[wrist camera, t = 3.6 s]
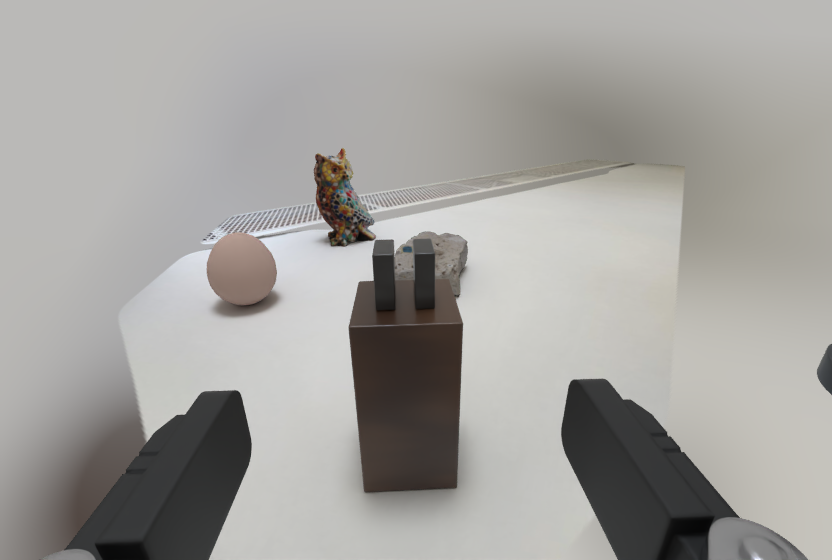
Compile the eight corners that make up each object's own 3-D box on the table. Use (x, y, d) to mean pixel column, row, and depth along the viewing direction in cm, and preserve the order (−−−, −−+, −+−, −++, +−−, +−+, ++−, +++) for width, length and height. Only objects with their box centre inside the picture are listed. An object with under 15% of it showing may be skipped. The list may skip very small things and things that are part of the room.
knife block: (446, 420, 28) (450, 229, 22) (456, 488, 23) (465, 263, 17) (370, 424, 28) (354, 232, 22) (364, 492, 23) (342, 267, 17)
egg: (245, 286, 50) (232, 222, 47) (293, 293, 48) (283, 227, 44) (200, 311, 44) (181, 240, 40) (253, 321, 42) (238, 246, 38)
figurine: (366, 248, 63) (359, 151, 57) (313, 246, 64) (301, 151, 58) (379, 233, 71) (374, 146, 65) (331, 232, 72) (322, 146, 66)
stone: (453, 282, 42) (372, 261, 45) (450, 322, 46) (375, 300, 49) (486, 229, 52) (417, 215, 55) (482, 265, 55) (417, 250, 59)
